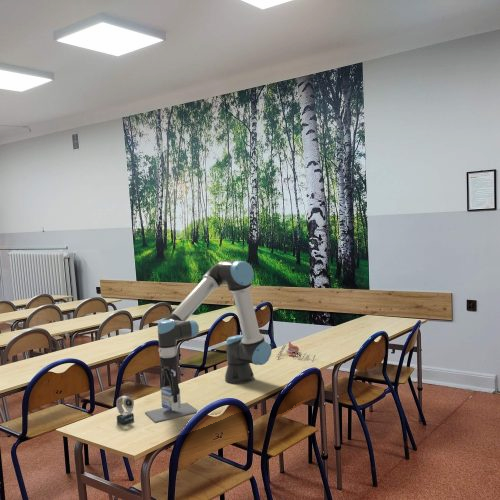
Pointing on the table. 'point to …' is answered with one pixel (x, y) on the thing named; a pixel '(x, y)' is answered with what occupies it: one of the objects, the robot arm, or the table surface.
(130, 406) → the watch
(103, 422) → the table surface
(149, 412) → the mat
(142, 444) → the table surface
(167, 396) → the medicine box
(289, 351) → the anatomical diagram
